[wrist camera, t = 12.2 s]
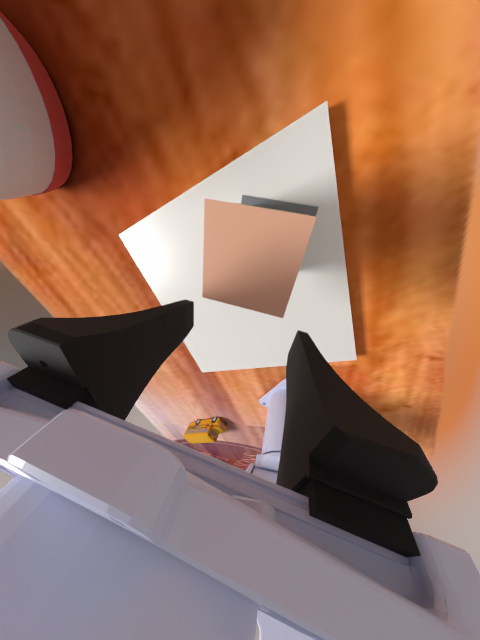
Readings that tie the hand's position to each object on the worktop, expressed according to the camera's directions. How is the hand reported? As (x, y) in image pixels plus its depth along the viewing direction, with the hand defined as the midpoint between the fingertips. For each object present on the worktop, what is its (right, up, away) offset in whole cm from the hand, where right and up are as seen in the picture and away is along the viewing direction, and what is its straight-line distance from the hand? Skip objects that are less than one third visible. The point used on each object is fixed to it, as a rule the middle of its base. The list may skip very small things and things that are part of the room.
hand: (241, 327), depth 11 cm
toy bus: (-7, -23, +28) cm, 36 cm away
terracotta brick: (+2, +5, +1) cm, 6 cm away
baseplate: (0, +4, +9) cm, 10 cm away
